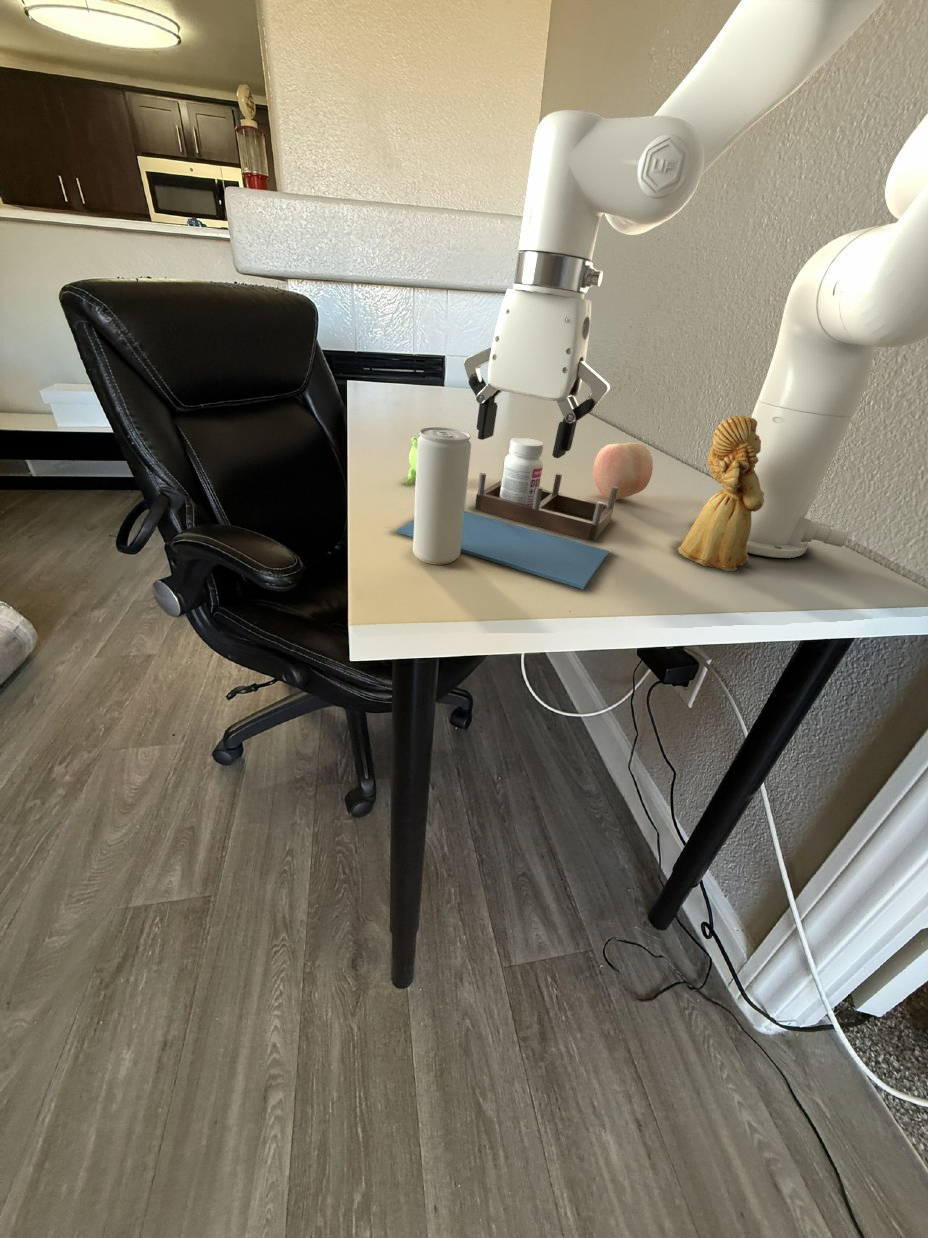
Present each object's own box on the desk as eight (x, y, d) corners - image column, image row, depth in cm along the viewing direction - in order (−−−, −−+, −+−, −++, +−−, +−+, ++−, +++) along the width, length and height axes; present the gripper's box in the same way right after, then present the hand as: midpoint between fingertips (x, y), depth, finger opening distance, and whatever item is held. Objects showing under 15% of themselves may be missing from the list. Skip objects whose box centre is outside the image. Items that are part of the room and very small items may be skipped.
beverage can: (417, 567, 50) (424, 439, 43) (408, 546, 54) (413, 425, 47) (465, 565, 51) (478, 440, 45) (453, 545, 55) (463, 427, 49)
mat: (608, 554, 57) (609, 550, 57) (583, 589, 49) (584, 585, 49) (442, 508, 64) (442, 505, 64) (397, 532, 56) (397, 529, 56)
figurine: (756, 575, 56) (820, 431, 48) (685, 566, 56) (736, 421, 48) (731, 546, 63) (783, 415, 55) (667, 538, 63) (710, 407, 55)
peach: (636, 493, 78) (652, 438, 73) (649, 511, 71) (666, 451, 67) (584, 487, 78) (596, 432, 73) (591, 504, 71) (605, 444, 67)
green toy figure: (405, 484, 71) (407, 441, 68) (406, 472, 75) (408, 432, 72) (450, 488, 71) (454, 445, 68) (449, 476, 76) (452, 435, 73)
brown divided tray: (610, 521, 66) (619, 486, 64) (593, 541, 60) (603, 504, 57) (500, 493, 71) (504, 460, 69) (474, 509, 65) (478, 473, 63)
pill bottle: (533, 517, 64) (545, 448, 60) (495, 511, 65) (504, 442, 61) (536, 505, 68) (547, 439, 64) (500, 499, 69) (509, 434, 65)
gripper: (640, 291, 54) (598, 457, 63) (490, 272, 59) (471, 427, 68) (625, 285, 48) (581, 469, 57) (460, 265, 54) (443, 435, 63)
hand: (521, 446), depth 63 cm, fingers open, 9 cm apart
